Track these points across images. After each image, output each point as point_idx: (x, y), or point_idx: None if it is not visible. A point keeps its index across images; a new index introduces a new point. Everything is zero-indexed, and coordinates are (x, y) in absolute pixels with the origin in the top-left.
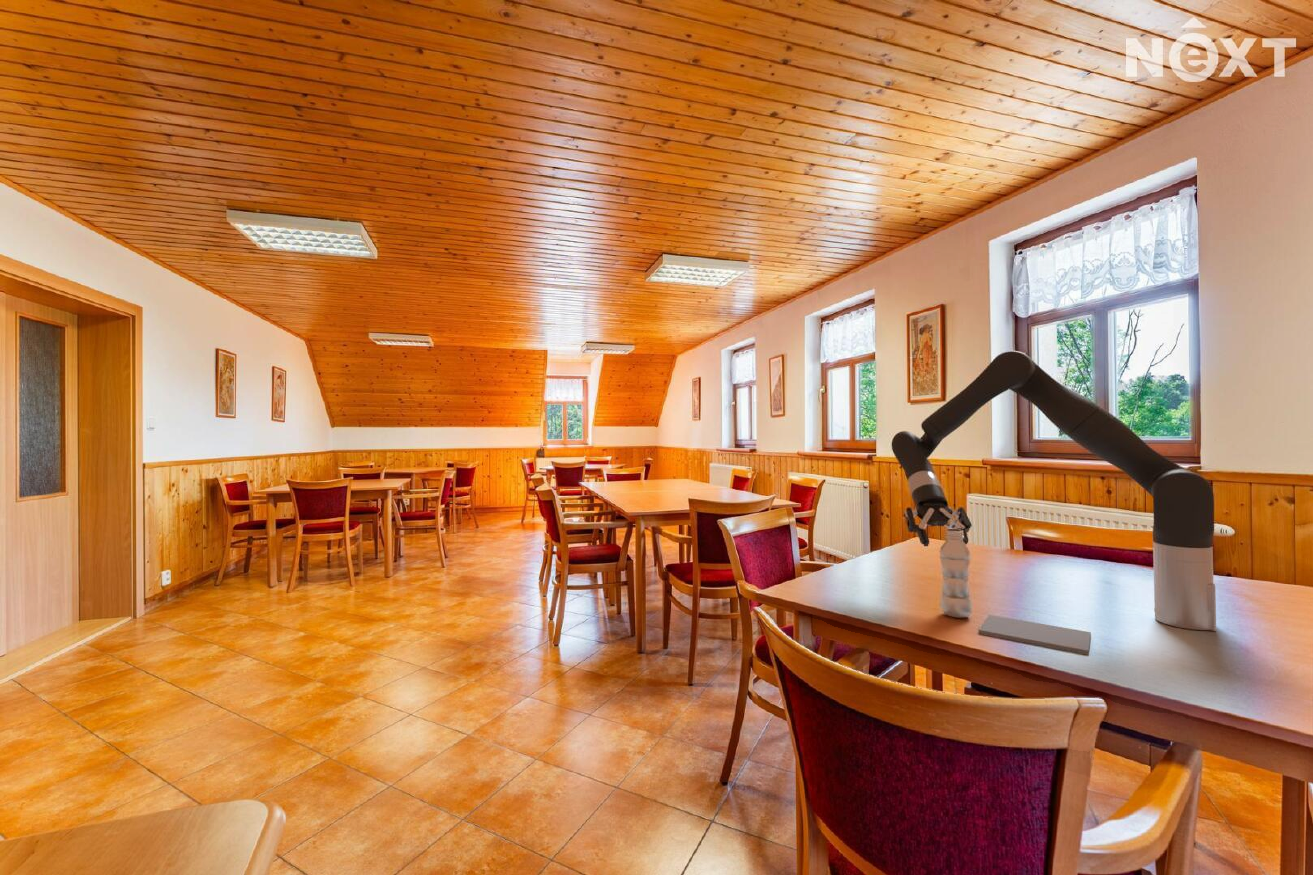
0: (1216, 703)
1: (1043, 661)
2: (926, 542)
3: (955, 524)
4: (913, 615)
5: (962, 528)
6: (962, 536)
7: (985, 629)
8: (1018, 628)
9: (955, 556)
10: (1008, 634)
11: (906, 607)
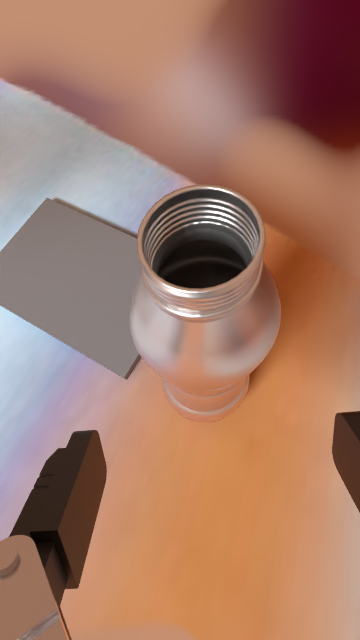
0: (9, 100)
1: (139, 168)
2: (356, 411)
3: (54, 601)
4: (322, 375)
5: (21, 537)
6: (162, 226)
7: None
8: (104, 286)
9: (222, 249)
10: None
11: None
